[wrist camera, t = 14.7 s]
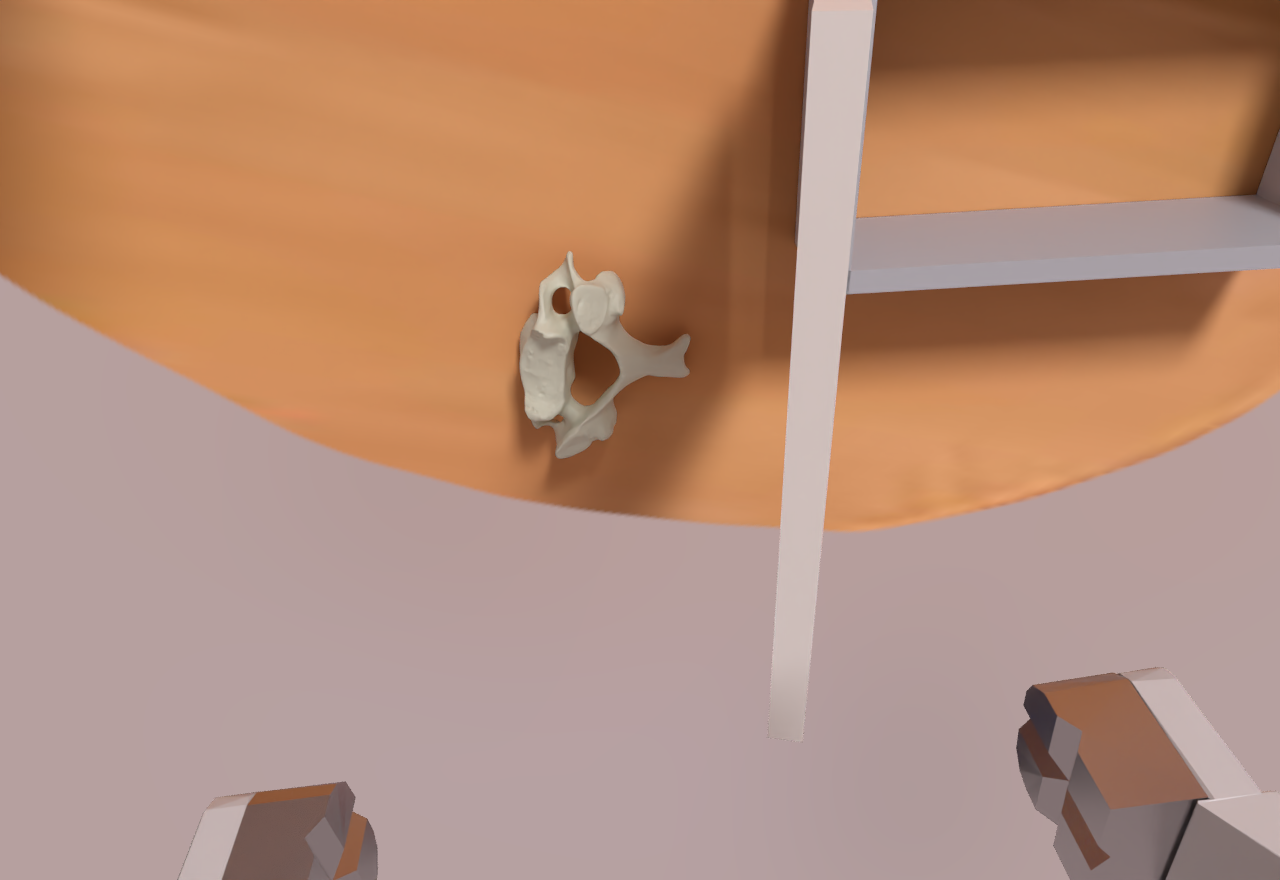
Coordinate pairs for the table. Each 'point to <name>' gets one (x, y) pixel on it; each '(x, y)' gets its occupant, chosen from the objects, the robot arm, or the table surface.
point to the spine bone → (553, 357)
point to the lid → (816, 336)
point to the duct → (1059, 236)
